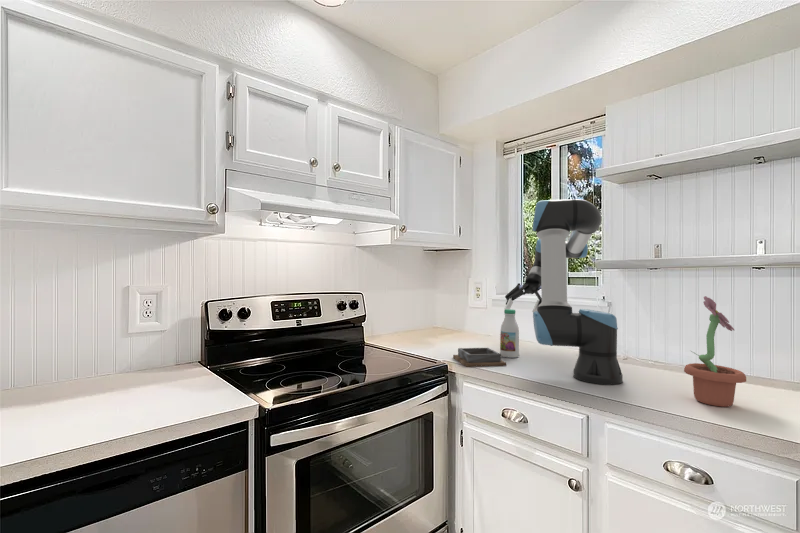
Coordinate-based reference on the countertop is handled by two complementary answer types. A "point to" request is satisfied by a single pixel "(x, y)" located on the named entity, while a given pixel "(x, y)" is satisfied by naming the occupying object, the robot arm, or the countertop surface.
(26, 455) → the countertop surface
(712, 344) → the decorative flower
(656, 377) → the countertop surface
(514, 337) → the milk bottle
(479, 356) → the square grey dish
